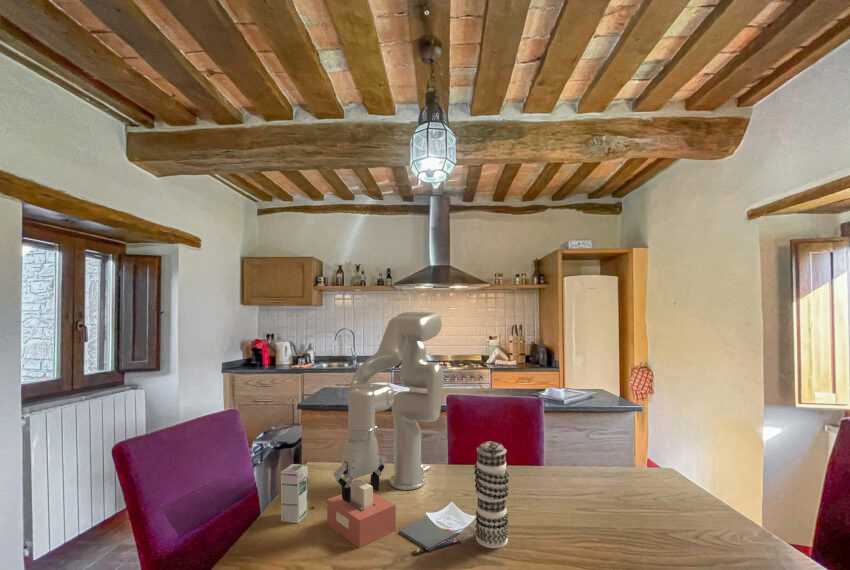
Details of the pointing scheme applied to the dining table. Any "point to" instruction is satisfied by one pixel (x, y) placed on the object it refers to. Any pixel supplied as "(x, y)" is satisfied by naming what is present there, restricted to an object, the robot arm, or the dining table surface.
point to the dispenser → (361, 519)
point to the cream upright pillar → (361, 493)
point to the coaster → (426, 533)
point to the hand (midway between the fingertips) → (361, 495)
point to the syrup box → (294, 493)
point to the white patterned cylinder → (491, 495)
